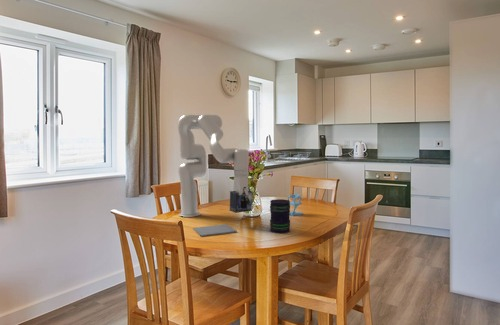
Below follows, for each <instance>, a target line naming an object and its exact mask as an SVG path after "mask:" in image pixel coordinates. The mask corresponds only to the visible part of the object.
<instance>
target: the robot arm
mask: <svg viewBox="0 0 500 325" xmlns="http://www.w3.org/2000/svg"><path fill="white" fill-rule="evenodd" d="M222 126H223V121H222V118H221V117H220V116H219V115H218V114H207V113H206V114H192V113H191V114H189V113H188V114H184V115H182V116H181V117H180V118H179V119H178V122H177V130H178V134H179V149H180V150H179V152H180V157H181V159H182V160H184V161H188V162H184V163H182V164H180V165H179V167H178V176H179V181H180V183H179V184H180V206H181V207H180V208H181V209H180V210H181V212H179V213H178V216H179V217H181V216H183V217H182V218H196V217H198V216H200V215H201V211H198V186H197V182H196V180H195V178H203V177H204V176H205V175H206V173H207V152H206V149H205V147H204V145H202V144H200V143H195V136H194V133H193V131H192V130H202V131H203V133H204V134H205V136H206V137H207V138H208V140H209V150H210V152H211V153H210V154H212V156H213V157H214V159H216V161H217V162H219V163H220V164H227V163H230V164H231V163H233V184H232V185H233V187H232V191H236V192H238V193H239V196H240V195H241V200H242V201H241V208H247V198H248V191H249V181H248V180H249V179H248V177H249V160H250V159H249V150H248V149H243V148H242V149H241V148H240V149H239V148H235V147H234V148H233V147H232V148H224V147H223V146H222V145H221V144H220V142H219V141H220V140H222V138H223V137H224V131H223V130H222V129H221V128H222ZM189 161H191V162H189ZM242 193H244V194H243V195H242ZM243 196H244V197H243Z"/></svg>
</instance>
